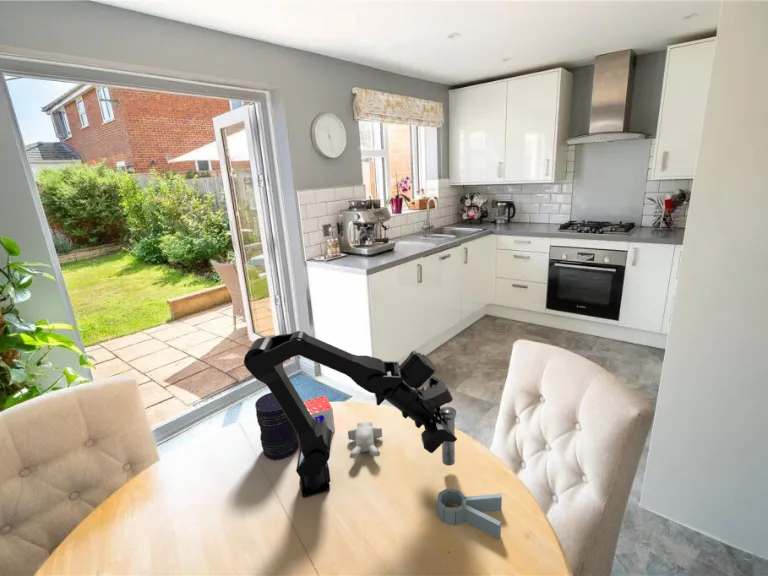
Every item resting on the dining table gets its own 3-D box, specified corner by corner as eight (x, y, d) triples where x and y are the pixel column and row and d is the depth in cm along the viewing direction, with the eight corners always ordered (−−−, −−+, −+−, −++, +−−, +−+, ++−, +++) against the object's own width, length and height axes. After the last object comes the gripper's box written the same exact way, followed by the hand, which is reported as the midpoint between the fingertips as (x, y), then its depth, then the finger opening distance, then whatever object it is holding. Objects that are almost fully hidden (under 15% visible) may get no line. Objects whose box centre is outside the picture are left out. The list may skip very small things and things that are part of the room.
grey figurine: (380, 416, 112) (382, 444, 97) (382, 432, 113) (384, 463, 98) (348, 418, 112) (345, 448, 97) (349, 435, 112) (346, 466, 98)
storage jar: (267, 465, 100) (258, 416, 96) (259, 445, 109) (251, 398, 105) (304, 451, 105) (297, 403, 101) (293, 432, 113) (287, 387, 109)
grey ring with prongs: (434, 525, 80) (434, 512, 79) (441, 495, 87) (440, 482, 87) (500, 540, 76) (500, 526, 75) (501, 507, 83) (501, 493, 82)
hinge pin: (444, 468, 92) (444, 417, 88) (438, 458, 95) (437, 408, 92) (459, 464, 93) (459, 413, 89) (451, 454, 96) (451, 405, 93)
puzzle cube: (327, 417, 119) (325, 395, 117) (335, 431, 112) (332, 408, 110) (302, 425, 116) (299, 402, 114) (308, 440, 109) (304, 416, 107)
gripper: (439, 397, 78) (491, 438, 82) (423, 357, 96) (466, 392, 100) (402, 434, 80) (454, 472, 84) (393, 387, 98) (436, 421, 102)
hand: (453, 435), depth 92 cm, fingers closed on hinge pin, 3 cm apart
